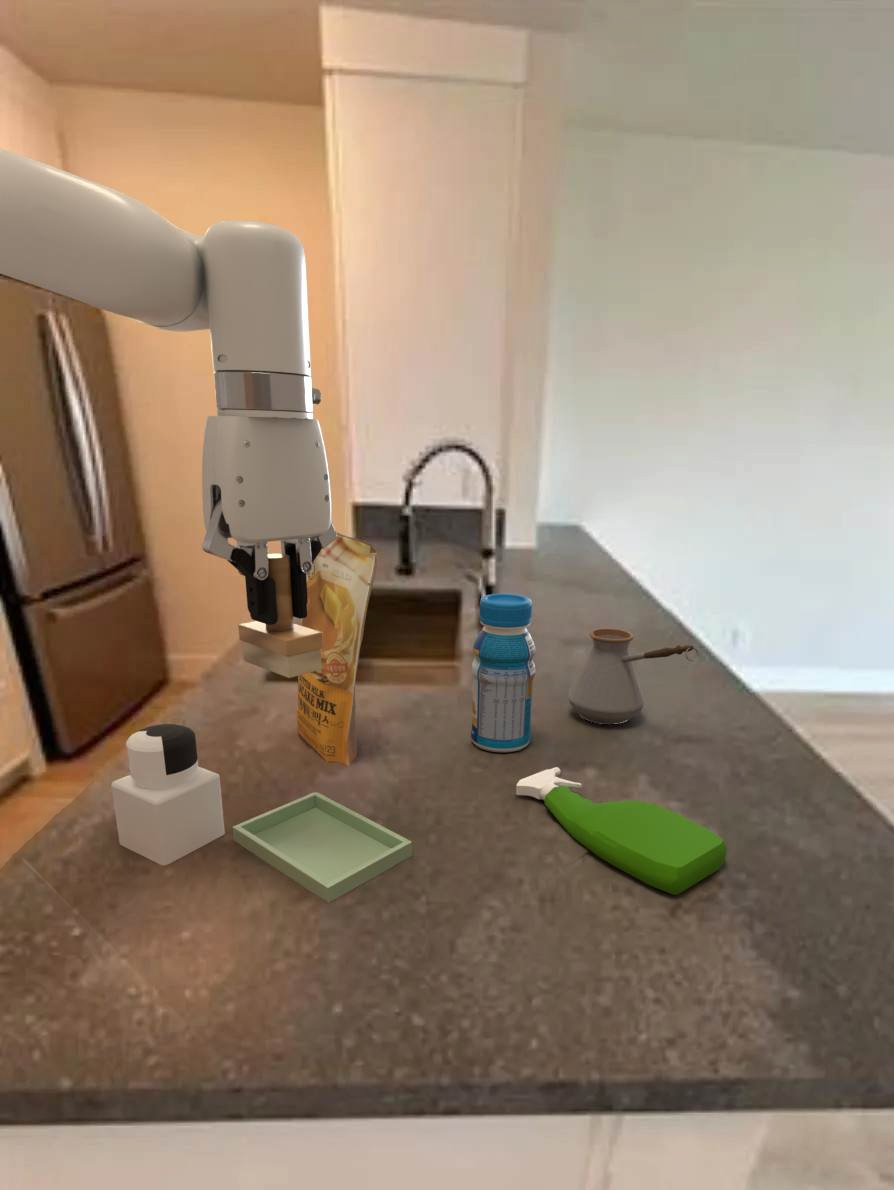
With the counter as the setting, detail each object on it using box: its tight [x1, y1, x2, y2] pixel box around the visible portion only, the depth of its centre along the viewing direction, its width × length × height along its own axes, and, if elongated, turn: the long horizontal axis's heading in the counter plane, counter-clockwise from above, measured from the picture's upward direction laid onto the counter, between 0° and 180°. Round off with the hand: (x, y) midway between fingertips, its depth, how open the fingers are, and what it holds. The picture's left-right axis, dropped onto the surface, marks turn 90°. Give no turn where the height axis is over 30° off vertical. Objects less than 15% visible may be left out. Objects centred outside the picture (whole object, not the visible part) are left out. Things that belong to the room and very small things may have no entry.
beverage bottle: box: [470, 593, 536, 753], centre depth 96 cm, size 8×8×20 cm
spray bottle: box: [515, 766, 728, 896], centre depth 78 cm, size 3×11×24 cm
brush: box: [238, 553, 323, 679], centre depth 65 cm, size 7×4×10 cm, turn 51°
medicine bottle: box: [110, 723, 226, 867], centre depth 71 cm, size 7×7×12 cm
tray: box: [232, 791, 413, 904], centre depth 72 cm, size 15×10×2 cm
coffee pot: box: [567, 628, 699, 724], centre depth 103 cm, size 21×12×15 cm, turn 34°
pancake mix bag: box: [296, 531, 378, 767], centre depth 92 cm, size 7×19×28 cm, turn 33°
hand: (279, 616), depth 65 cm, fingers closed on brush, 2 cm apart
